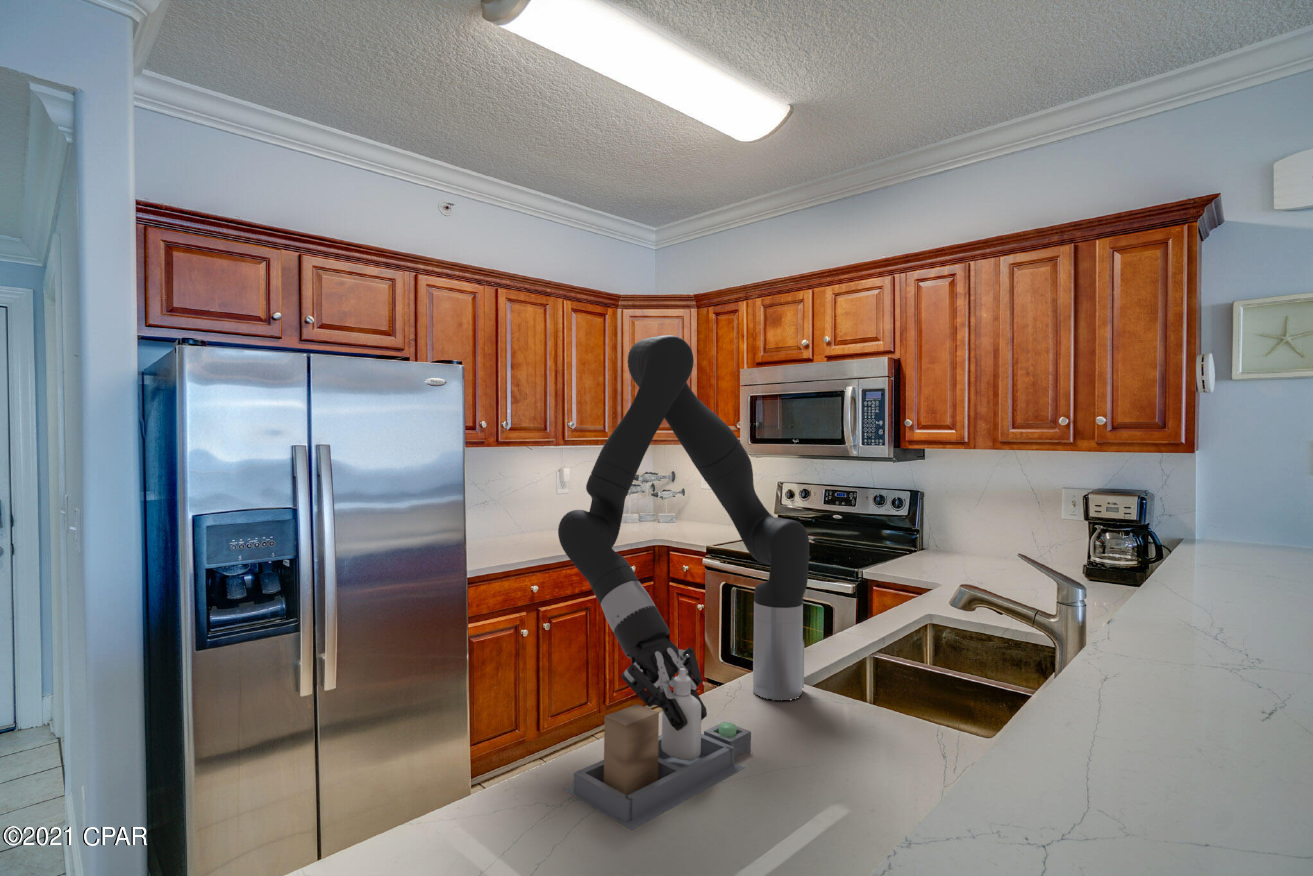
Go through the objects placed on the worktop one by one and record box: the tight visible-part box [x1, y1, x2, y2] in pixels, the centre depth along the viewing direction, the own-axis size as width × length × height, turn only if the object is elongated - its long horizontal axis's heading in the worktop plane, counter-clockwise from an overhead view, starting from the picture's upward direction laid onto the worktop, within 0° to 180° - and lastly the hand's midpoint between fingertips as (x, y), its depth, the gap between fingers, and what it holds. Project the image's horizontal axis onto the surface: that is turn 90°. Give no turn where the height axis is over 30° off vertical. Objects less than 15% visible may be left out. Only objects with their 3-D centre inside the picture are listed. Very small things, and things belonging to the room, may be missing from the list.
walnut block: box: [603, 703, 660, 796], centre depth 87 cm, size 6×4×10 cm, turn 136°
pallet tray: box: [563, 733, 745, 831], centre depth 91 cm, size 22×13×4 cm, turn 136°
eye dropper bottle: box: [661, 668, 702, 761], centre depth 94 cm, size 4×6×12 cm
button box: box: [703, 721, 752, 758], centre depth 100 cm, size 5×5×4 cm
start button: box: [718, 721, 737, 738], centre depth 100 cm, size 3×3×3 cm
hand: (692, 722), depth 93 cm, fingers closed on eye dropper bottle, 3 cm apart
